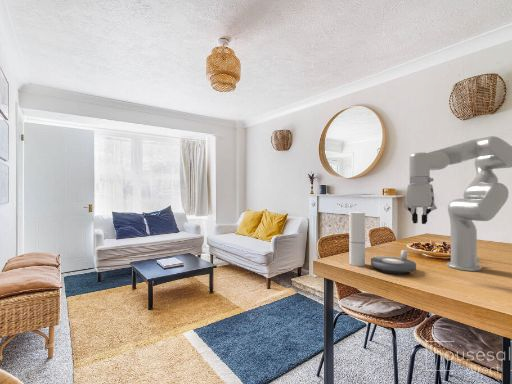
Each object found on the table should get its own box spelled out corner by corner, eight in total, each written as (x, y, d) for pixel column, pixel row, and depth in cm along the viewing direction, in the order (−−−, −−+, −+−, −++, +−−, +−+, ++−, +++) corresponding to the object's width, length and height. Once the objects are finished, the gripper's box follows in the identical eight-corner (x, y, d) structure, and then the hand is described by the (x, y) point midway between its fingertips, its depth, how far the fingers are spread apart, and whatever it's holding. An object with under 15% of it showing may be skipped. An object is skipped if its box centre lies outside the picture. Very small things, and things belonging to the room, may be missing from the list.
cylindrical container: (362, 262, 133) (362, 211, 134) (367, 266, 126) (366, 212, 126) (347, 262, 134) (347, 211, 134) (351, 265, 127) (351, 212, 127)
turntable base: (390, 265, 128) (390, 261, 128) (414, 271, 117) (414, 268, 117) (372, 268, 123) (372, 264, 123) (395, 275, 112) (395, 271, 112)
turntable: (389, 259, 132) (389, 247, 132) (425, 268, 116) (425, 254, 116) (362, 263, 125) (362, 250, 125) (396, 273, 108) (396, 258, 108)
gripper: (444, 180, 114) (444, 224, 114) (403, 182, 126) (403, 221, 126) (437, 180, 109) (438, 225, 109) (396, 181, 122) (396, 222, 122)
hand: (419, 223), depth 118 cm, fingers open, 2 cm apart
